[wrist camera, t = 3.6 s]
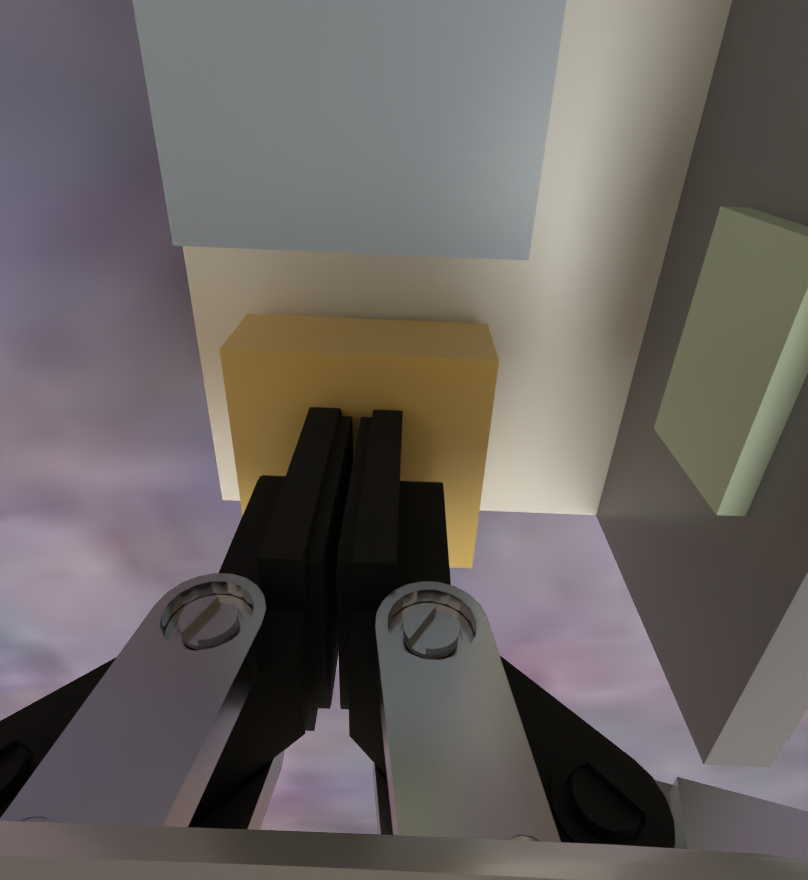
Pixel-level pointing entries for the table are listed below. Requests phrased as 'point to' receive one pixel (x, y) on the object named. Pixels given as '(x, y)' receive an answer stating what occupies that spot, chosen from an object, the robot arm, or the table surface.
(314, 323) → the ochre key
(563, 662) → the table surface
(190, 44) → the blue key
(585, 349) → the keypad
